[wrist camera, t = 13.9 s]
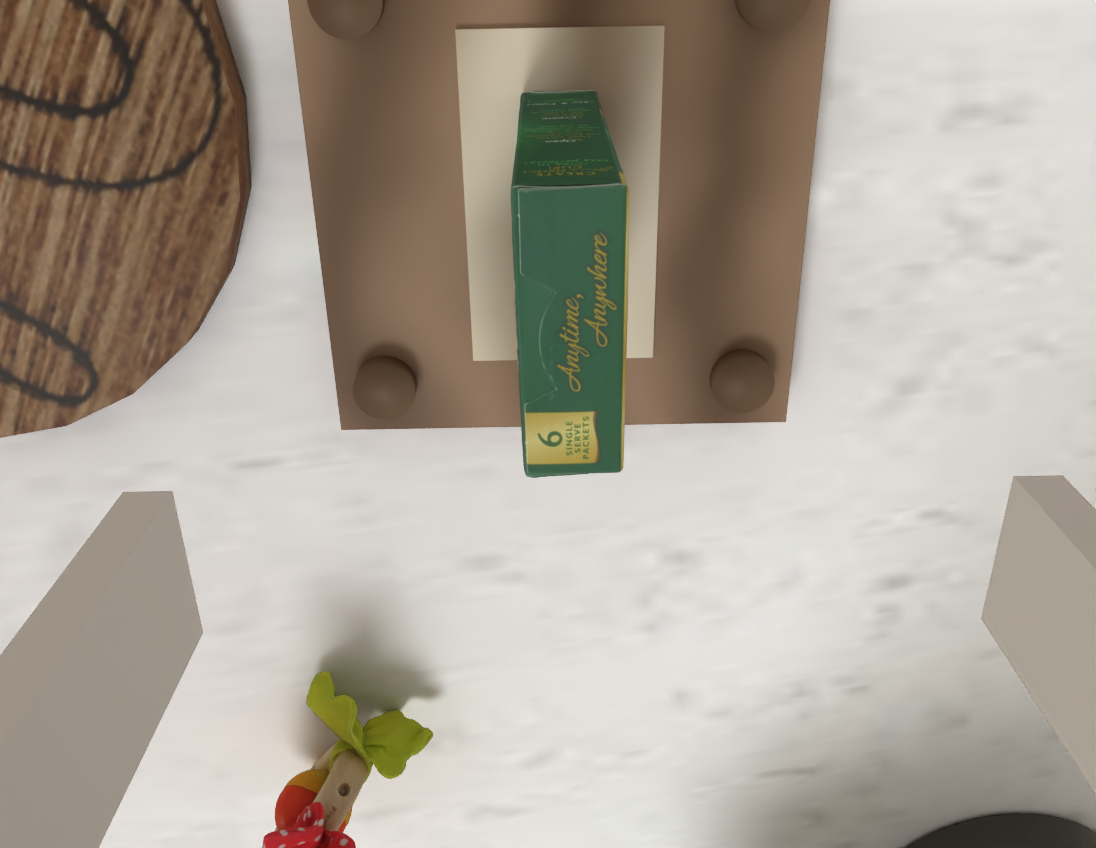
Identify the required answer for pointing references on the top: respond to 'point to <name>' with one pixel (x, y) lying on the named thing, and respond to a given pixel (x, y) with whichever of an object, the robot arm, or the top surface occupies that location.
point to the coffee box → (569, 285)
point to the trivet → (111, 196)
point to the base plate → (485, 200)
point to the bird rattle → (341, 770)
